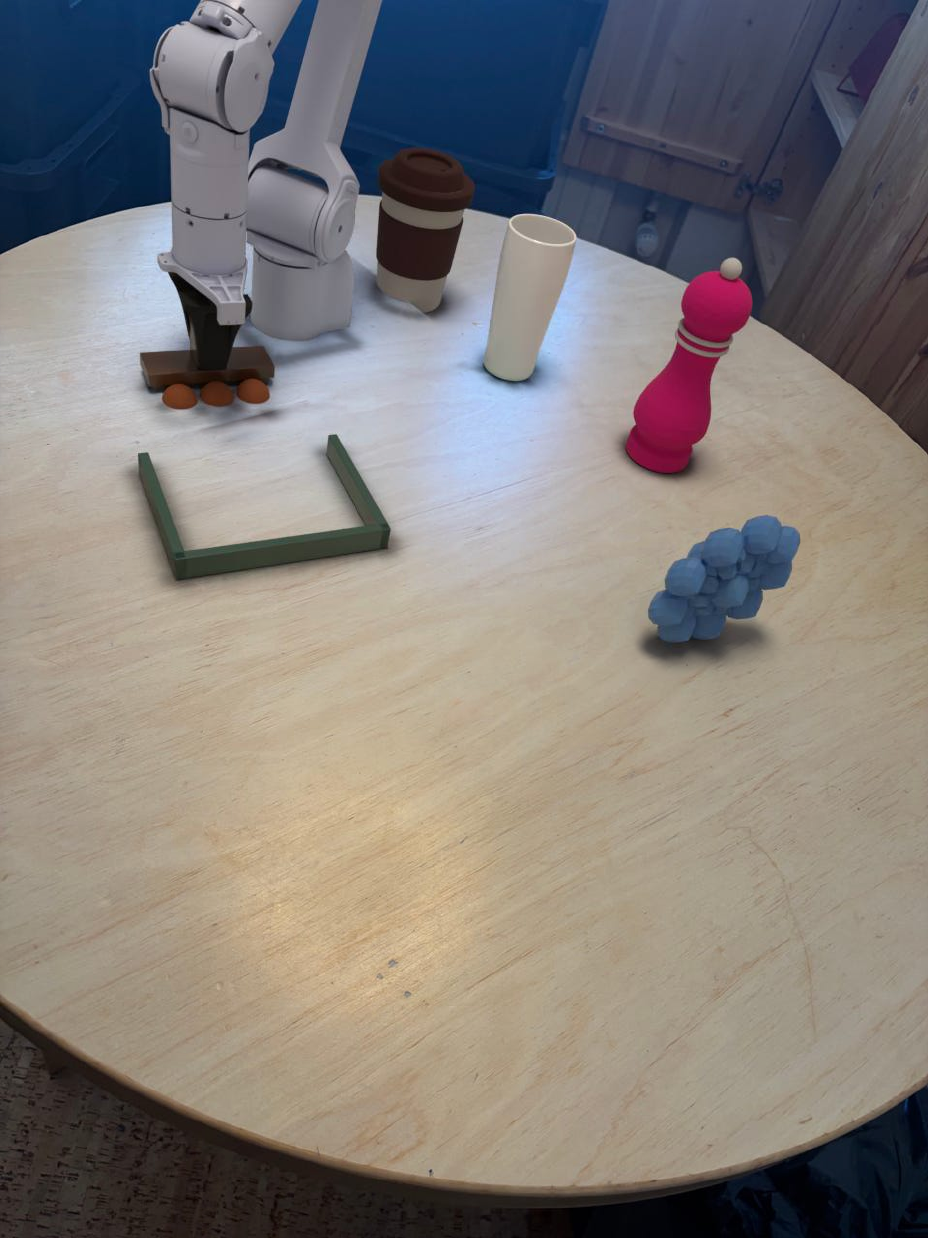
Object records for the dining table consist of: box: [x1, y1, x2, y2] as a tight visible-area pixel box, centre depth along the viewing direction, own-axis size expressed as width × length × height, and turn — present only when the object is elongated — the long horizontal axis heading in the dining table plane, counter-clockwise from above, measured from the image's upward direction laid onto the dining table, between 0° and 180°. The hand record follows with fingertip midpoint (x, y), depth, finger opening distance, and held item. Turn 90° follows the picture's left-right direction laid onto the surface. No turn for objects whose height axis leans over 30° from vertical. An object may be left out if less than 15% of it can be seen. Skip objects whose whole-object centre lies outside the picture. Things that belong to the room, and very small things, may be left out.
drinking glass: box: [483, 213, 578, 382], centre depth 94 cm, size 7×7×15 cm
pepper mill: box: [625, 257, 753, 474], centre depth 86 cm, size 7×7×20 cm
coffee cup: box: [375, 147, 476, 314], centre depth 101 cm, size 10×10×15 cm
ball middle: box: [198, 381, 235, 408], centre depth 83 cm, size 3×3×3 cm
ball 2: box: [235, 379, 271, 405], centre depth 85 cm, size 3×3×3 cm
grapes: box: [647, 514, 801, 644], centre depth 72 cm, size 12×7×12 cm, turn 112°
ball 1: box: [161, 384, 199, 411], centre depth 82 cm, size 3×3×3 cm
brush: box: [139, 289, 276, 393], centre depth 83 cm, size 4×11×9 cm, turn 115°
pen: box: [137, 433, 392, 581], centre depth 75 cm, size 13×17×2 cm
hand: (208, 358), depth 84 cm, fingers closed on brush, 2 cm apart
